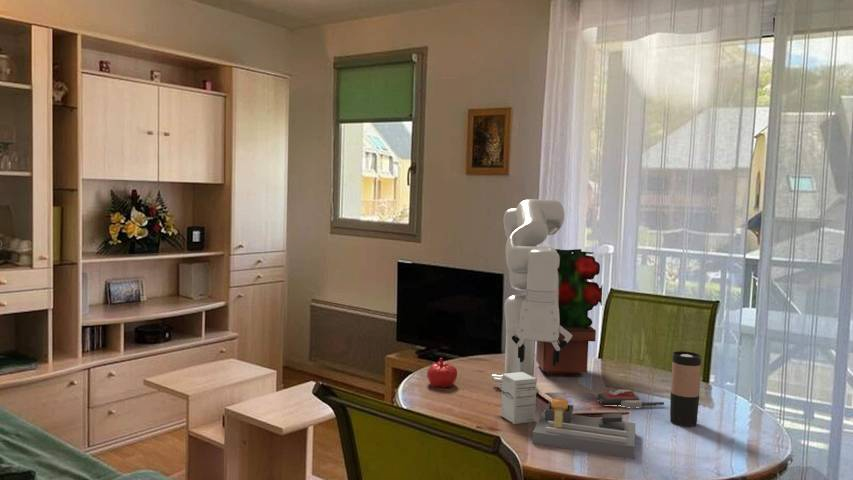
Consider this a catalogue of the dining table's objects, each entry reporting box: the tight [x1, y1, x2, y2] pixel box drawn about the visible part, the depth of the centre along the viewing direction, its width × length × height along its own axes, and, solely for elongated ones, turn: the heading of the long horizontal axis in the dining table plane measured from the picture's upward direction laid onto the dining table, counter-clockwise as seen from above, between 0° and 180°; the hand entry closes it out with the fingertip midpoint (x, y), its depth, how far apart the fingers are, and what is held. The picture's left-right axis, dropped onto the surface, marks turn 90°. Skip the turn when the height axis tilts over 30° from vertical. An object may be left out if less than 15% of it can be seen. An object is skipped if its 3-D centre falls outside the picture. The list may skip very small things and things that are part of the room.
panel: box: [531, 402, 636, 459], centre depth 170 cm, size 25×18×6 cm
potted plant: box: [535, 248, 603, 377], centre depth 236 cm, size 22×22×45 cm
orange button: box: [550, 397, 569, 412], centre depth 177 cm, size 4×4×3 cm
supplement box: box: [500, 372, 538, 425], centre depth 184 cm, size 7×7×13 cm
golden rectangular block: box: [554, 407, 564, 429], centre depth 168 cm, size 2×3×5 cm, turn 162°
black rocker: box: [601, 413, 623, 423], centre depth 172 cm, size 5×4×1 cm
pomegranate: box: [426, 357, 458, 388], centre depth 215 cm, size 10×10×9 cm
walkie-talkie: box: [596, 388, 665, 409], centre depth 201 cm, size 9×4×20 cm
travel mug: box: [669, 350, 702, 428], centre depth 184 cm, size 8×8×20 cm
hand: (538, 362), depth 169 cm, fingers open, 8 cm apart
